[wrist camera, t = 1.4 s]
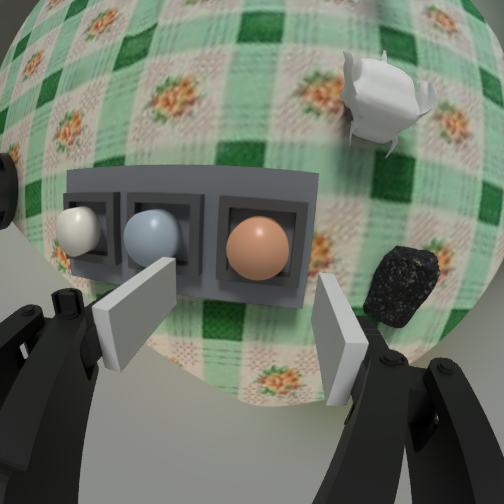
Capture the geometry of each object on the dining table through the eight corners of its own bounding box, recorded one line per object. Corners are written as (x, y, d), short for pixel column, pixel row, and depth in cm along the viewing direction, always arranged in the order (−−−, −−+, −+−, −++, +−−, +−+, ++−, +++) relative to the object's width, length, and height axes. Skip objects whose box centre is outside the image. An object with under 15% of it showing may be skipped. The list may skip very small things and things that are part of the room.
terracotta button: (230, 268, 26) (225, 276, 23) (233, 213, 24) (228, 216, 22) (285, 273, 25) (285, 283, 23) (290, 218, 24) (292, 222, 22)
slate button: (137, 257, 27) (125, 264, 24) (136, 207, 25) (123, 210, 23) (182, 262, 26) (173, 270, 24) (183, 210, 25) (173, 213, 22)
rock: (356, 312, 32) (368, 335, 27) (382, 235, 30) (402, 246, 24) (400, 320, 32) (417, 342, 26) (427, 249, 29) (450, 262, 24)
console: (88, 266, 34) (65, 278, 29) (85, 170, 31) (59, 170, 26) (300, 293, 32) (303, 315, 27) (313, 174, 29) (321, 172, 23)
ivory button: (70, 248, 27) (57, 254, 25) (68, 206, 26) (54, 208, 24) (101, 253, 27) (88, 259, 25) (100, 206, 26) (86, 209, 23)
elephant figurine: (321, 144, 28) (337, 129, 19) (334, 55, 24) (350, 18, 16) (397, 166, 27) (436, 162, 19) (406, 79, 24) (439, 54, 15)
